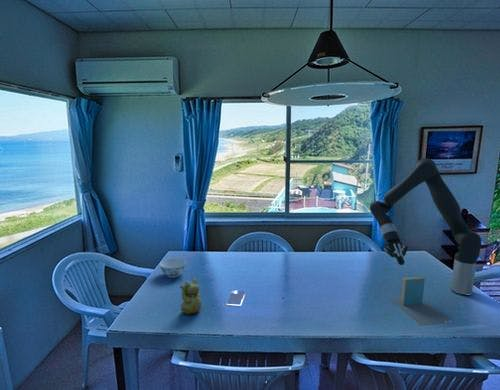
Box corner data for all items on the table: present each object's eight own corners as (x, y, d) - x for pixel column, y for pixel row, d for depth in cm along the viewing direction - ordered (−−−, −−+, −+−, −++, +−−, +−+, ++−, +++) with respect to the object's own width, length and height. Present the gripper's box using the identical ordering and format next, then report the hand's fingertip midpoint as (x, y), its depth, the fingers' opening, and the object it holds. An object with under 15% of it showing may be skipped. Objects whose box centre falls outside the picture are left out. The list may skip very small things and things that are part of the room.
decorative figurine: (194, 304, 148) (193, 274, 145) (206, 310, 143) (205, 279, 140) (178, 312, 141) (177, 282, 138) (190, 319, 135) (189, 287, 133)
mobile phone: (225, 304, 147) (232, 289, 162) (225, 305, 147) (232, 291, 162) (240, 305, 146) (246, 290, 161) (240, 307, 146) (246, 292, 161)
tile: (400, 303, 148) (403, 278, 146) (419, 301, 150) (422, 276, 148) (403, 305, 146) (406, 279, 144) (422, 303, 148) (425, 278, 146)
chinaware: (189, 270, 187) (189, 258, 185) (182, 281, 172) (181, 268, 171) (165, 269, 188) (165, 257, 187) (156, 280, 174) (155, 267, 172)
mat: (389, 301, 152) (389, 299, 152) (419, 298, 155) (419, 297, 154) (421, 327, 131) (421, 325, 130) (454, 323, 133) (454, 322, 133)
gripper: (381, 230, 160) (393, 262, 150) (404, 229, 162) (418, 260, 152) (375, 237, 166) (386, 268, 156) (397, 236, 168) (410, 266, 158)
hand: (402, 264), depth 154 cm, fingers closed
